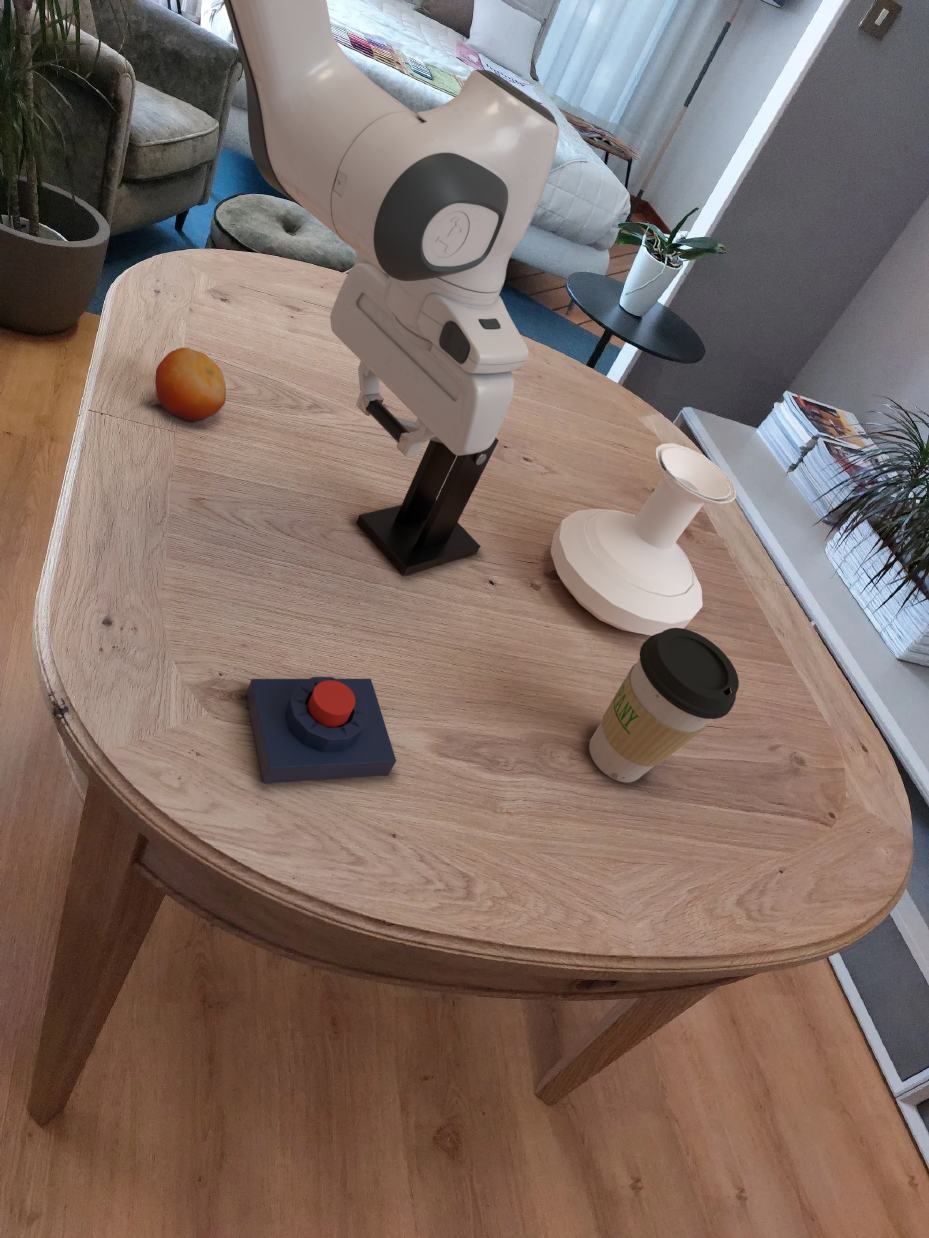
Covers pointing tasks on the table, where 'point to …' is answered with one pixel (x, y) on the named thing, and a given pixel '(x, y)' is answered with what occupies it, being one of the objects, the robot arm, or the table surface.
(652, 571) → the candle holder
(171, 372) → the fruit
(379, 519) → the bracket
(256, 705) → the control block
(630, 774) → the coffee cup
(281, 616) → the table surface
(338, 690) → the button
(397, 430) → the lever
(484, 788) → the table surface
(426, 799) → the table surface
